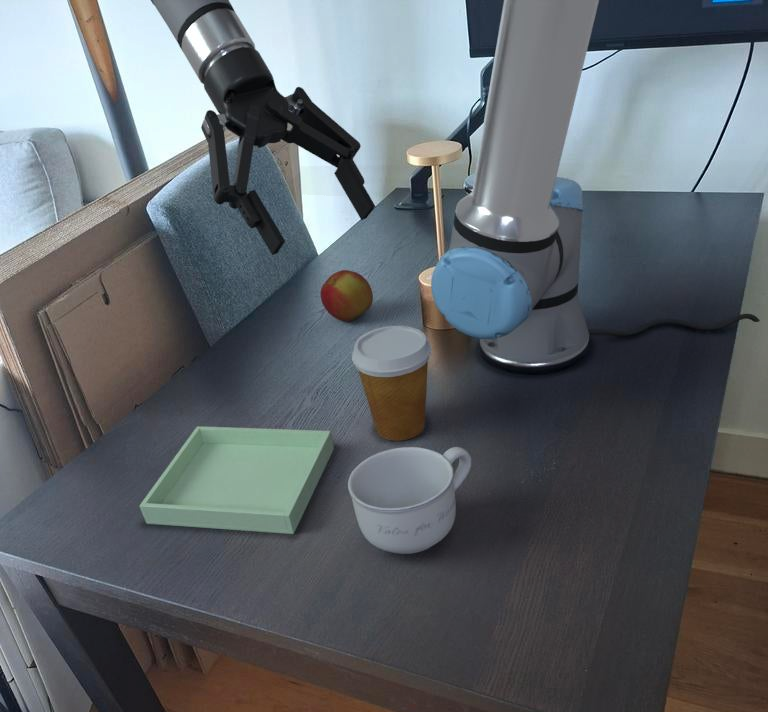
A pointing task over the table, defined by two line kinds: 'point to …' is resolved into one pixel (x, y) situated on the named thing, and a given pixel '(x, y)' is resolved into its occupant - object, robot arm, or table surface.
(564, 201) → the robot arm
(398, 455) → the teacup
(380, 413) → the disposable coffee cup
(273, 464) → the tray
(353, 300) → the apple
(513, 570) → the table surface
